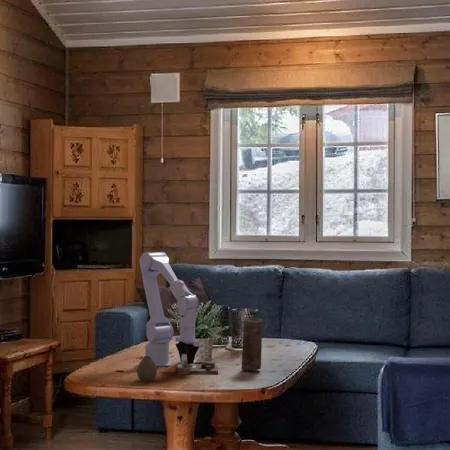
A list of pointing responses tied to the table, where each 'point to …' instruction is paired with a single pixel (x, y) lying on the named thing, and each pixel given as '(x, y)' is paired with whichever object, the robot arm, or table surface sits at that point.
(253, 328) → the candle
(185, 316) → the robot arm
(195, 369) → the base board
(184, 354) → the knob
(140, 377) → the vase
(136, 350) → the table surface
